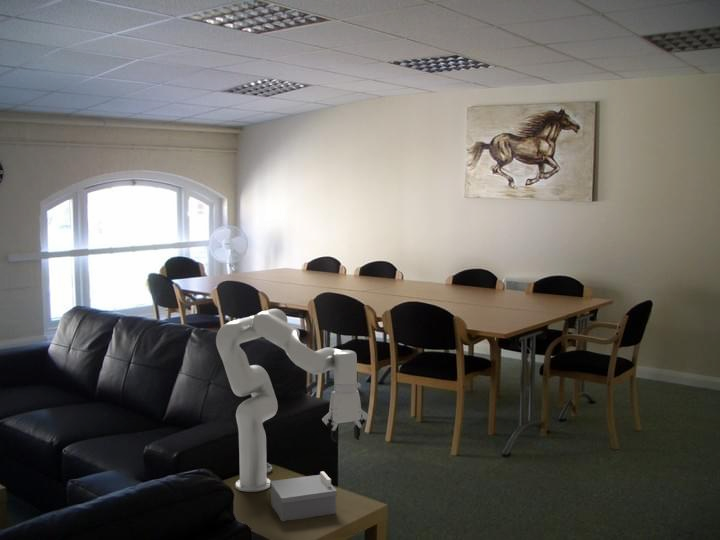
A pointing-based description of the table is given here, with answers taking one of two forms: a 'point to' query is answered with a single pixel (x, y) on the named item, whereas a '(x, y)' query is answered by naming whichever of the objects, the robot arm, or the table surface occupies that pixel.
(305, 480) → the lid
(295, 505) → the base
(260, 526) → the table surface
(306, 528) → the table surface
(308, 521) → the table surface
